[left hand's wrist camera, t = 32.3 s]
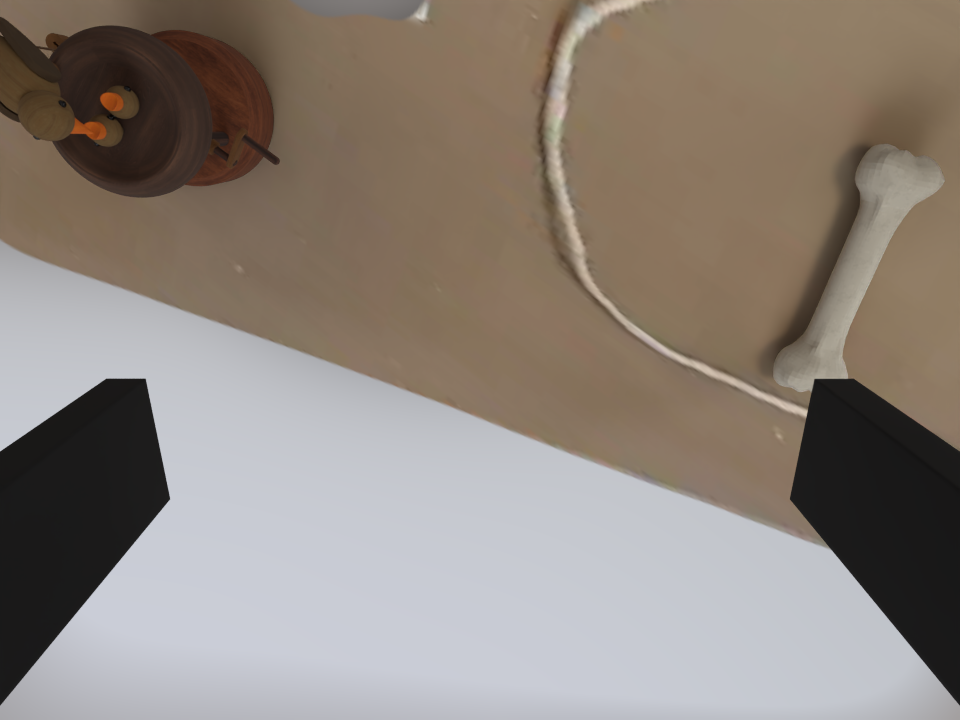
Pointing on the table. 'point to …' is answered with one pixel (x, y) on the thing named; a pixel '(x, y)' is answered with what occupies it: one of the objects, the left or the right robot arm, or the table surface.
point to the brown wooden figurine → (139, 106)
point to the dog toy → (857, 261)
